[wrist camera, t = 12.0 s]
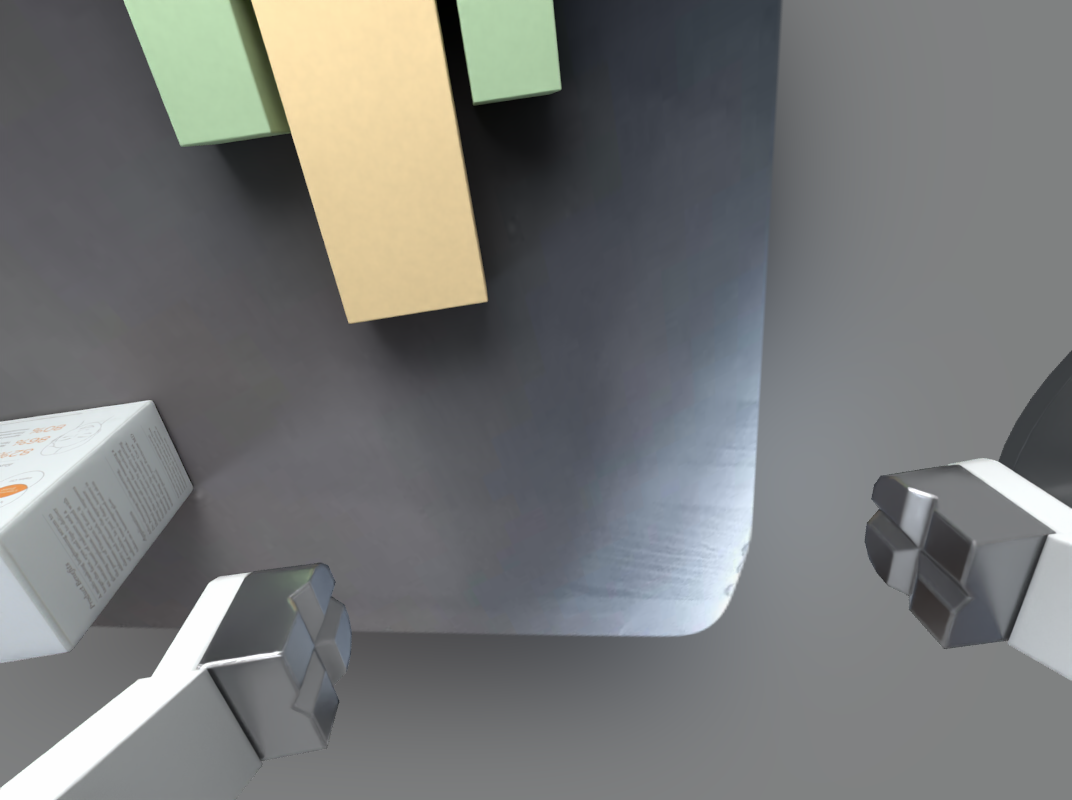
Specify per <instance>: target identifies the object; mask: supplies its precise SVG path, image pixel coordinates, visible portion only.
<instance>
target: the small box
mask: <svg viewBox="0 0 1072 800" xmlns="http://www.w3.org/2000/svg"><path fill="white" fill-rule="evenodd" d="M192 491H193V486H192V484H191V482H190V480H189V478H188V476H187V473H186V471H185V469H184V467H183V465H182V462H181V460H180V458H179V456H178V454H177V452H176V449H175V447H174V445H173V443H172V441H171V439H170V437H169V435H168V432H167V430H166V428H165V426H164V424H163V422H162V420H161V417H160V415H159V413H158V411H157V409H156V407H155V404H154V403H153V401H151V400H147V401H141V402H134V403H128V404H120V405H114V406H107V407H99V408H93V409H86V410H79V411H72V412H65V413H58V414H51V415H44V416H37V417H30V418H24V419H16V420H9V421H2V422H0V663H6V662H12V661H18V660H25V659H30V658H36V657H42V656H49V655H54V654H61V653H68V652H71V651H72V650H73V648H75V646H76V645H77V644H78V643H79V641H80V640H81V638H82V637H83V636H84V634H85V633H86V632H87V631H88V629H89V628H90V627H91V625H92V624H93V623H94V621H95V620H96V618H97V617H98V616H99V614H100V613H101V612H102V610H103V609H104V608H105V606H106V605H107V604H108V602H109V601H110V600H111V598H112V597H113V596H114V594H115V593H116V592H117V590H118V589H119V588H120V586H121V585H122V584H123V582H124V581H125V580H126V579H127V577H128V576H129V575H130V573H131V572H132V571H133V569H134V568H135V567H136V565H137V564H138V562H139V561H140V560H141V559H142V557H143V556H144V555H145V553H146V552H147V550H148V549H149V548H150V546H151V545H152V544H153V543H154V541H155V540H156V539H157V537H158V536H159V535H160V533H161V532H162V531H163V529H164V528H165V527H166V525H167V524H168V523H169V521H170V520H171V519H172V517H173V516H174V515H175V513H176V512H177V511H178V509H179V508H180V507H181V505H182V504H183V503H184V501H185V500H186V499H187V497H188V496H189V495H190V493H191V492H192Z"/></svg>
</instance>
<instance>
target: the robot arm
mask: <svg viewBox="0 0 1072 800" xmlns="http://www.w3.org/2000/svg"><path fill="white" fill-rule="evenodd" d="M871 499H872V500H873V502H874V503H875V504H876V505H877V507H878V508H879V510H878V511H877V512H876V513H875V515H874V516H873V517H872V518H871V519H870V520H869V521H868V522H867V526H866V534H865V544H866V548H867V552H868V556H869V559H870V561H871V563H872V565H873V567H874V568H875V570H876V572H877V573H878V575H879V576H880V577H881V578H882V579H883V580H884V582H885V583H886V584H887V585H888V586H890V587H892V588H894V589H896V590H898V591H900V592H902V593H904V594H906V595H908V596H909V610H910V611H911V612H912V614H913V615H914V616H915V617H916V618H917V619H918V620H919V621H920V622H921V624H922V625H923V626H924V627H925V628H926V629H927V630H928V631H929V632H930V634H931V635H932V636H933V637H934V638H935V639H936V640H937V642H938V643H939V644H940V645H941V646H942V647H943V648H944V649H947V648H955V647H963V646H970V645H978V644H985V643H993V642H1001V641H1008V640H1009V641H1008V645H1010V646H1012V647H1014V648H1016V649H1017V650H1019V651H1021V652H1022V653H1024V654H1026V655H1028V656H1029V657H1031V658H1033V659H1035V660H1036V661H1038V662H1040V663H1042V664H1043V665H1045V666H1047V667H1048V668H1050V669H1052V670H1054V671H1055V672H1057V673H1059V674H1060V675H1062V676H1064V677H1066V678H1067V679H1069V680H1071V681H1072V509H1071V508H1070V507H1068V506H1067V505H1065V504H1064V503H1062V502H1060V501H1059V500H1057V499H1056V498H1054V497H1053V496H1051V495H1050V494H1048V493H1046V492H1045V491H1043V490H1042V489H1040V488H1039V487H1037V486H1036V485H1034V484H1032V483H1031V482H1029V481H1028V480H1026V479H1025V478H1023V477H1022V476H1020V475H1018V474H1017V473H1015V472H1014V471H1012V470H1011V469H1009V468H1008V467H1006V466H1004V465H1003V464H1001V463H1000V462H998V461H994V460H990V459H986V458H980V459H975V460H969V461H964V462H958V463H952V464H949V465H947V466H939V467H933V468H927V469H920V470H915V471H908V472H902V473H895V474H889V475H883V476H880V478H879V479H878V480H877V482H876V483H875V484H874V489H873V494H872V498H871ZM335 583H336V582H335V580H334V578H333V575H332V573H331V571H330V569H329V566H328V565H326V564H323V563H314V564H306V565H298V566H291V567H283V568H276V569H268V570H261V571H254V572H252V573H242V574H235V575H228V576H220V577H218V578H216V579H214V580H213V581H211V582H210V583H209V584H208V585H207V587H206V588H205V590H204V592H203V593H202V595H201V596H200V598H199V600H198V601H197V603H196V605H195V606H194V608H193V610H192V611H191V613H190V614H189V616H188V618H187V619H186V621H185V623H184V624H183V626H182V627H181V629H180V631H179V632H178V634H177V636H176V637H175V639H174V641H173V642H172V644H171V645H170V647H169V649H168V651H167V652H166V654H165V655H164V657H163V658H162V660H161V662H160V663H159V665H158V667H157V668H156V670H155V671H154V673H153V675H152V677H150V678H143V679H139V680H137V681H136V682H135V683H133V684H132V685H131V686H130V687H128V688H127V689H126V690H124V691H123V692H122V693H121V694H119V695H118V696H117V697H116V698H114V699H113V700H112V701H110V702H109V703H108V704H107V705H105V706H104V707H103V708H102V709H100V710H99V711H98V712H96V713H95V714H94V715H93V716H92V717H90V718H89V719H88V720H86V721H85V722H84V723H83V724H81V725H80V726H79V727H78V728H76V729H75V730H74V731H72V732H71V733H70V734H69V735H67V736H66V737H65V738H63V739H62V740H61V741H60V742H58V743H57V744H56V745H55V746H53V747H52V748H51V749H50V750H48V751H47V752H46V753H44V754H43V755H42V756H41V757H39V758H38V759H37V760H35V761H34V762H33V763H32V764H30V765H29V766H28V767H27V768H25V769H24V770H23V771H21V772H20V773H19V774H18V775H16V776H15V777H14V778H13V779H12V780H10V781H9V782H8V783H6V784H5V785H4V786H2V787H1V788H0V800H236V799H237V797H238V796H239V795H240V793H241V792H242V791H243V790H244V788H245V787H246V786H247V784H248V783H249V782H250V781H251V779H252V778H253V777H254V775H255V774H256V773H257V771H258V770H259V769H260V768H261V766H262V762H261V761H265V760H269V759H275V758H280V757H285V756H291V755H296V754H301V753H306V752H311V751H317V750H322V749H327V746H328V742H329V739H330V735H331V731H332V727H333V723H334V719H335V716H336V712H337V708H338V704H339V699H338V697H337V694H336V692H335V690H334V687H333V686H334V685H335V684H336V683H337V682H338V681H339V680H340V679H341V677H342V676H343V675H344V674H345V673H346V672H347V668H348V664H349V660H350V655H351V637H352V636H351V635H352V631H351V626H350V620H349V616H348V613H347V610H346V608H345V605H344V604H342V603H341V602H339V601H338V600H336V599H335V598H333V597H332V596H331V595H332V592H333V589H334V586H335Z"/></svg>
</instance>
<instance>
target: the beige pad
mask: <svg viewBox="0 0 1072 800" xmlns="http://www.w3.org/2000/svg"><path fill="white" fill-rule="evenodd" d="M251 1H252V5H253V8H254V11H255V15H256V18H257V21H258V25H259V28H260V31H261V35H262V38H263V41H264V44H265V48H266V51H267V54H268V58H269V61H270V64H271V68H272V71H273V74H274V78H275V81H276V84H277V88H278V91H279V94H280V97H281V101H282V104H283V107H284V111H285V114H286V117H287V121H288V124H289V127H290V131H291V134H292V137H293V141H294V144H295V147H296V151H297V154H298V157H299V160H300V164H301V167H302V170H303V174H304V177H305V180H306V184H307V187H308V190H309V194H310V197H311V200H312V204H313V207H314V210H315V213H316V217H317V220H318V223H319V227H320V230H321V233H322V237H323V240H324V243H325V247H326V250H327V253H328V257H329V260H330V263H331V267H332V270H333V273H334V276H335V280H336V283H337V286H338V290H339V293H340V296H341V300H342V303H343V306H344V310H345V313H346V316H347V320H348V323H349V324H353V323H359V322H365V321H371V320H378V319H384V318H390V317H396V316H402V315H409V314H415V313H421V312H427V311H433V310H440V309H446V308H452V307H458V306H465V305H471V304H477V303H483V302H487V301H488V296H487V287H486V280H485V274H484V268H483V263H482V257H481V251H480V246H479V240H478V234H477V229H476V223H475V217H474V212H473V206H472V200H471V194H470V189H469V183H468V177H467V172H466V166H465V160H464V155H463V149H462V143H461V138H460V132H459V126H458V121H457V115H456V109H455V103H454V98H453V92H452V86H451V81H450V75H449V69H448V64H447V58H446V52H445V47H444V41H443V35H442V29H441V24H440V18H439V12H438V7H437V1H436V0H251Z"/></svg>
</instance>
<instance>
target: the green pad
mask: <svg viewBox="0 0 1072 800" xmlns="http://www.w3.org/2000/svg"><path fill="white" fill-rule="evenodd" d="M124 3H125V5H126V8H127V10H128V13H129V15H130V18H131V20H132V23H133V26H134V28H135V31H136V33H137V36H138V38H139V41H140V44H141V46H142V49H143V51H144V54H145V56H146V59H147V61H148V64H149V67H150V69H151V72H152V74H153V77H154V79H155V82H156V84H157V87H158V90H159V92H160V95H161V97H162V100H163V102H164V105H165V108H166V110H167V113H168V115H169V118H170V120H171V123H172V125H173V128H174V131H175V133H176V136H177V138H178V141H179V143H180V145H181V146H182V147H186V146H200V145H214V144H221V143H228V142H235V141H241V140H248V139H255V138H261V137H268V136H275V135H281V134H288V133H291V131H290V127H289V124H288V121H287V117H286V114H285V111H284V107H283V104H282V101H281V97H280V94H279V91H278V88H277V84H276V81H275V78H274V74H273V71H272V68H271V64H270V61H269V58H268V54H267V51H266V48H265V44H264V41H263V38H262V35H261V31H260V28H259V25H258V21H257V18H256V15H255V11H254V8H253V5H252V1H251V0H124ZM456 5H457V11H458V17H459V23H460V29H461V35H462V41H463V47H464V53H465V59H466V65H467V71H468V77H469V84H470V90H471V96H472V102H473V105H474V106H475V105H482V104H489V103H495V102H502V101H509V100H515V99H522V98H529V97H535V96H542V95H549V94H552V93H555V92H557V91H560V90H561V89H562V87H561V77H560V67H559V57H558V46H557V36H556V26H555V16H554V6H553V0H456Z"/></svg>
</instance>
